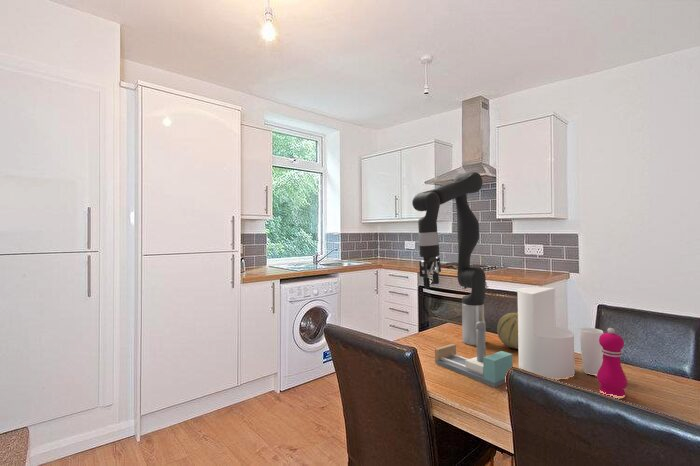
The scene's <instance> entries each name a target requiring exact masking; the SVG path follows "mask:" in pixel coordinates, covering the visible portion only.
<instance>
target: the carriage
mask: <svg viewBox="0 0 700 466" xmlns="http://www.w3.org/2000/svg"><path fill="white" fill-rule="evenodd" d="M475 327H476V338H477V345H476V356H474V357H472V358H467V359H468V360H465V367H467V368H470V369H473V370H475V371H478V372H481V373H484V367H483V357H485V356H486V342H485V329H486V328H487V325H486V322H485V323H484V322H482V321H478V322H477V323H476V325H475Z"/></svg>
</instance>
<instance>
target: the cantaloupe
mask: <svg viewBox="0 0 700 466" xmlns="http://www.w3.org/2000/svg"><path fill="white" fill-rule="evenodd" d="M496 332H497V335H498V338H499V340H500V341H501V342H502V343H503V344H504V345H505V346H506V347H508V348H511V349H515V350H518V312H508V313H506V314H504V315H503V316H502V317H501V318H500V319H499V320H498V322H497V326H496Z"/></svg>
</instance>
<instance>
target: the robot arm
mask: <svg viewBox="0 0 700 466" xmlns="http://www.w3.org/2000/svg"><path fill="white" fill-rule="evenodd" d="M482 187H483V177H482V175H481V174H480V173H479V172H476V171H469V172H463V173H458V174H456V175H455V177H454V178H453V182H450V183H446V184H442V185H440V186H437V187H434V188H433V189H431V190H430V189H429V190H425V191H422V192H418V193H417V194H416V195H414V196H413V198H412V204H411V205H412V206H413V209H415V210H416V211H417V212H426V213H425V215H424V216H423V217H420V218H418V223H417V224H418V248H419V257H421V258H422V259H423V260H419V261H418V263H419V277H420V278H423V279H422V280H423V288H425V289H430V288H431V284H430V283H431V281H430V276H431V273H432V283H433V285H439V284H440V278H439V275H440V273H441V272H442V268H441V257H439V256H440V241H439V240H440V239H439V234H438V223H437V222H438V217H439V211H440V207H441V206H442V205H443V204H445V203H448V202H450V201H452V200H454V199H455V207H456V229H457V231H456V233H457V245H458V246H457V251H458V253H457V255H458V257H457V272H456V275H457V282H458V284H459V286H460V287H462V288H467V289H471V291H470V294H466V295H463V296H462V298H461V318H462V319H461V321H462V324H461V325H462V332H461V333H462V342H463V343H464V344H466V345H470V346H471V345H472V346H477V338H476V327H475V325H476V323H477V322H478V321H482V322H484V323H485V324H486V320H485V298H486V283H487V282H486V280H487V279H486V272H485V271H484V269H482V268H481V267H471V257H472V256H471V255H472V253H473V251H474V250H475V248H476V246H477V245H478V242H479V240H480V227H479V226H480V223H479V220H478V218H477V217H476V215H475V214H474V212H473V211H472V209H471V208H470V206H469V203H468V197H467V194H475V193H477V192H479V191H480V190H481V189H482ZM486 334H487V333H486V329H485V343H486V339H487V336H486Z"/></svg>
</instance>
